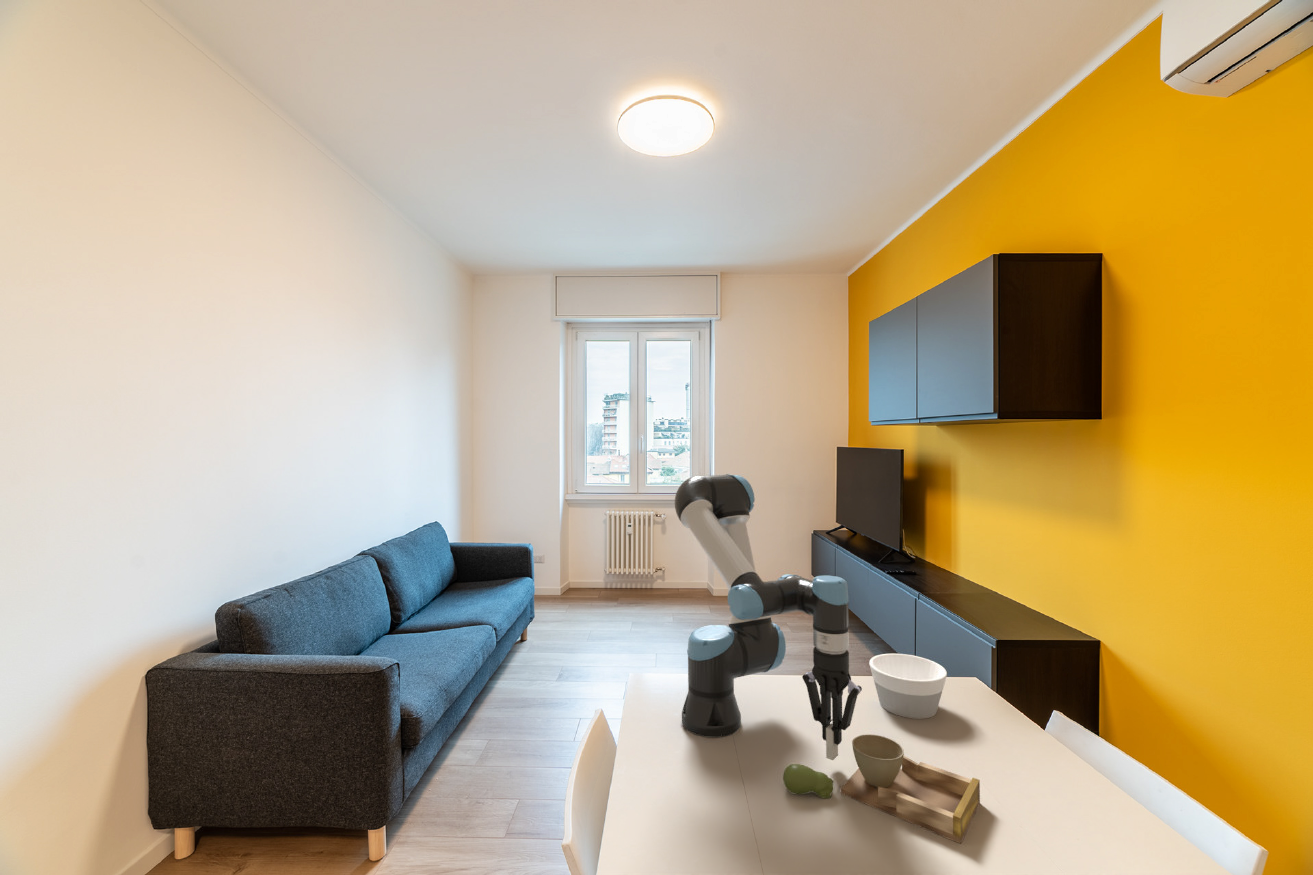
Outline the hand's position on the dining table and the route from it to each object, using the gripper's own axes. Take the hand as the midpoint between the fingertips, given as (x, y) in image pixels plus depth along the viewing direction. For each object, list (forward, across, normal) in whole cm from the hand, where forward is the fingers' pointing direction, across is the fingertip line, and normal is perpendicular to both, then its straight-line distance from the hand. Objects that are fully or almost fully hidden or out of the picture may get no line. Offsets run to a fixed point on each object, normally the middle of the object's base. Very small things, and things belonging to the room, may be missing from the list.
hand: (832, 756), depth 123 cm
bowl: (+3, +3, +41) cm, 41 cm away
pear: (+3, 0, -11) cm, 12 cm away
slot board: (+3, +16, 0) cm, 16 cm away
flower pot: (+2, +10, 0) cm, 10 cm away
